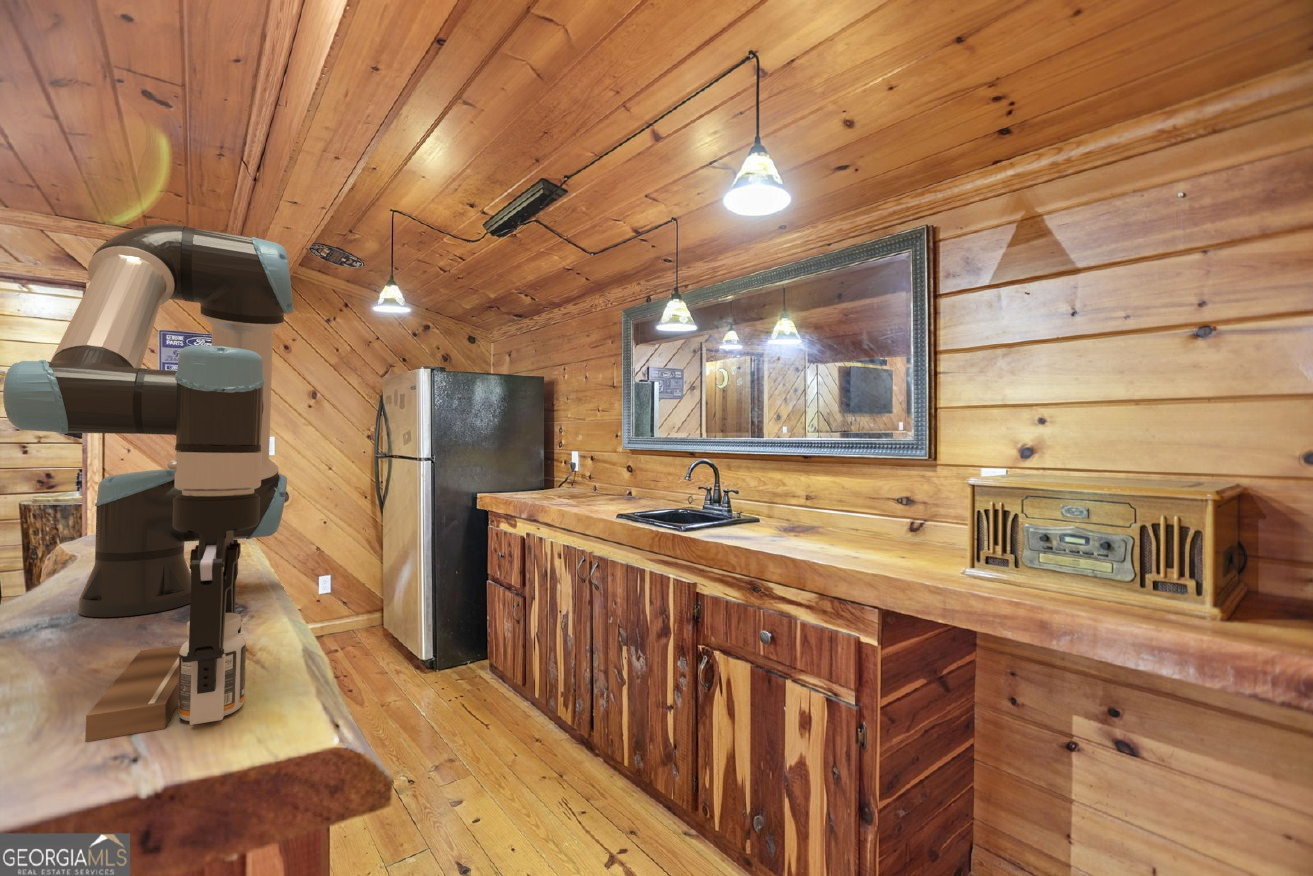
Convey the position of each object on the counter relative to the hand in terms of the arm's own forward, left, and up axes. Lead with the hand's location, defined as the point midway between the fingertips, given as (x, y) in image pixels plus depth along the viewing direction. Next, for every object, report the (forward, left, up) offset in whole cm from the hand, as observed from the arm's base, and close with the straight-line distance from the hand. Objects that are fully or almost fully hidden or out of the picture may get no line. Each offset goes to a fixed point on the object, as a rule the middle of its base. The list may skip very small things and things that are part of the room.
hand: (211, 708), depth 64 cm
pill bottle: (0, 0, -1) cm, 1 cm away
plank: (-8, -7, -1) cm, 10 cm away
